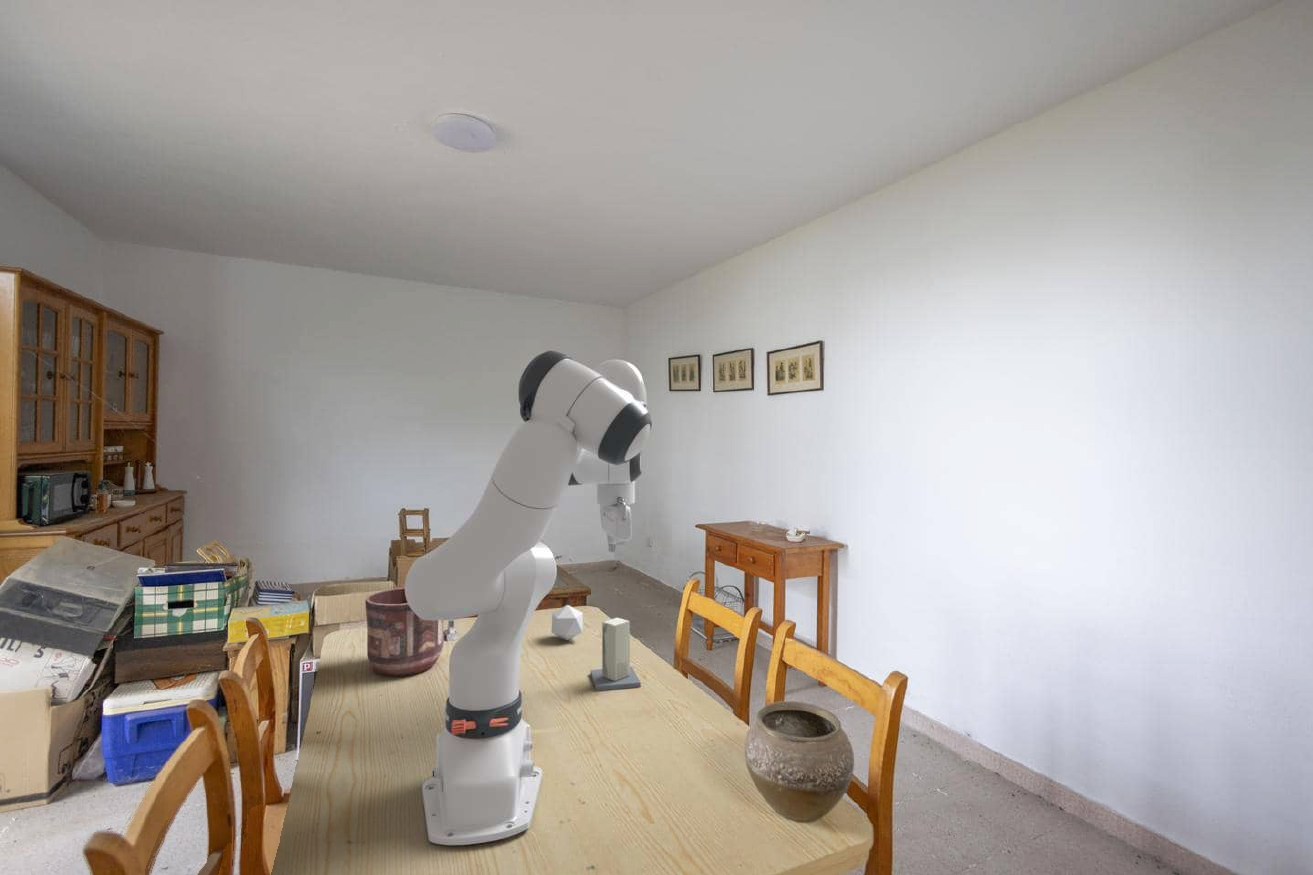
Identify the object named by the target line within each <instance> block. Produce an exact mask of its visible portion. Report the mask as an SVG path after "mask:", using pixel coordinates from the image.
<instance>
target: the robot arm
mask: <svg viewBox="0 0 1313 875" xmlns="http://www.w3.org/2000/svg"><path fill="white" fill-rule="evenodd" d="M642 376H643V375H642V374H641V372H640V371H639V369H638V367H636V366H635V365H634V364H632V363H631V362H628V361H627V360H623V359H617V358H616V359H608V360H606V361H603V362H601V363H600V364H598V365H597V366H596V367H594V369H591V368H590V367H587V366H586V365H584V364H582V363H580V362H577V361H575V360H573V358H572V357H571V356H569V355H567V354H564V353H562V352H558V351H556V350H555V351H554V350H547V351H544V352H542V353H540V354H537V355H536V356H535V357H534V358H533V359H532V360H531V361H530V362H529V363H528V365H527V366H526V367H525V369H524V371H523V373H522V375H521V376H520V378H519V381H518V392H517V393H518V402H519V404H520V407H519V414H520V418H521V419H522V420H523V423H521V425H520V426H519V427H518V428H517V429H516V431H515V432H514V434H513V435H512V436H511V437H510V440H509V441H508V442H507V444H506V446H505V448H504V449H503V451H502V452H501V455H500V457H499V458H498V461H497V462H496V464H495V466H494V469H493V471H492V474H491V476H490V478H489V481H488V482H487V484H486V487H485V489H484V491H483V494H482V495H481V497H480V500H479V502H478V504H477V506H476V508H475V510H474V511H473V513H472V514H471V515H470V516H469V518H467V520H466V521H465V522H464V523H463V524H461V526H460V527H459V529H457V530H456V532H454V533H452V535H451V536H450V537H448V539H447V540H445V541H444V542H442V543H441V544H439V546H438V547H436V548H435V549H433V550H431V551H430V552H428V553H426V554H424V555H422V556H420V557H419V558H417V559H415V560H414V562H413V563H412V565H411V566H410V568H409V570H408V572H407V574H406V577H405V582H404V588H405V596H406V599H407V602H408V604H409V606H410V608H411V609H412V611H413V612H414V613H415V614H416V615H417V616H418V617H419V618H421V619H423V620H444V621H448V620H454V621H456V620H459V619H465V618H470V617H472V616H473V617H474V616H477V617H476V619H475V621H474V623H473V625H471V627H470V629H469V630H468V631H467V632H466V633H465V634H464V635H462V637H460V639H458V640H457V641H456V643H455V644H454V646H453V647H452V650H451V652H450V655H449V666H448V667H449V669H448V671H449V672H448V675H449V676H448V697H447V699H446V701H445V702H446V703H445V708H444V709H445V711H444V717H445V726H444V728H443V729H442V730H441V731H440V732H439V733H437V735H436V756H435V757H436V761H435V763H436V765H435V766H436V768H433V770H432V777H431V778H429V779H426V780H425V781H424V782H422V788H421V795H422V801H423V809H424V815H425V816H424V817H425V822H426V823H425V824H426V832H427V837H428V841H429V842H430V843H433V844H435V845H436V844H437V845H443V846H466V845H473V844H481V843H487V842H493V841H499V840H502V839H505V838H509V837H511V836H514V835H515V836H516V835H517V834H519V833H522V832H524V831H525V830H528V828H529V827H530V825H531V824H532V821H533V820H532V819H533V815H534V811H535V807H536V805H537V804H536V803H537V800H538V796H539V792H540V787H541V784H542V780H543V769H542V768H541V767H539V766H536V765H535V763H534V760H532V759H531V751H533V741H531V725H530V724H529V723H527V722H526V721H524V719H523V718H522V716H523V698H522V697H523V696H522V691H521V690H520V674H521V673H520V672H521V671H520V670H521V657H522V656H521V655H522V654H521V653H522V647H523V646H522V645H523V641H524V638H525V635H526V632H527V629H528V626H529V624H530V620H531V618H532V617H533V615H534V613H535V611H536V609H537V608H538V606H539V605H540V603H541V602H542V601H543V599H544V598H545V597H546V596H547V595H548V594H549V593H550V592H551V590H552V589H553V588H554V585H555V582H556V579H557V570H558V568H557V566H558V565H557V562H556V558H555V556H554V554H553V552H552V551H551V549H550V548H549V547H548V546H547V545H546V544H545V543H543V542H541V540H542V539H543V537H544V536H545V534H546V532H547V530H548V528H549V527H550V525H551V524H550V523H552V520H553V518H554V515H555V514H556V512H557V509H558V507H559V505H560V503H561V501H562V500H563V497H564V495H565V492H566V491H567V488H568V486H582V485H596V503H597V505H598V504H599V511H600V512H599V514H600V524H601V529H602V531H604V532H605V533H606V540H607V551H608V552H609V553H614V557H615V559H616V560H619V561H620V560H621V561H623V560H624V558H625V548H626V545H627V543H626V542H630V541H632V536H633V534H632V530H633V529H632V510H631V508H630V505H633V504H635V503H636V480H637V479H638V478H639V477H640V476H641V475H642V469H641V468H642V464H641V463H642V460H641V458H642V451H643V448H644V447H645V446H646V444H647V441H648V438H649V436H650V432H651V430H652V425H653V424H652V418H651V414H650V412H649V410H648V409H647V408H648V407H647V406H648V397H647V389H646V384H645V383H644V379H643V377H642Z"/></svg>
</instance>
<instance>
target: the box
mask: <svg viewBox="0 0 1313 875" xmlns="http://www.w3.org/2000/svg"><path fill="white" fill-rule="evenodd" d="M601 624H602V626H601V627H602V629H601V630H602V634H601V635H602V640H601V642H602V645H601V646H602V648H601V650H602V651H601V652H602V653H601V654H602V658H601V659H602V664H601V669H602V676H603V677H605V678H608V679H610V680H613V681H617V680H619V679H621V678H624V677H626V676H628V675H630V667H631V662H630V661H631V648H630V647H631V645H630V644H631V640H630V637H631V636H630V634H631V631H630V629H631V626H630V624H631V622H630V620H627V619H623V618H620V617H615V618H611V619H607V620H605V621H603V622H602V623H601Z"/></svg>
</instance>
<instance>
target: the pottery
mask: <svg viewBox="0 0 1313 875" xmlns="http://www.w3.org/2000/svg"><path fill="white" fill-rule="evenodd" d="M365 613H366V629H367V633H366V634H367V637H366V638H367V640H366V641H367V642H366V644H367V647H366V652H367V653H366V654H367V658H368V661H369V663H370V666H371V668H372V669H373V671H374V672H375V673H377V674H379V675H380V676H381V675H382V676H383V677H392V678H395V677H396V678H397V677H399V678H401V677H411V676H414V675H415V676H416V675H419V674H421V673H424V672H426V671H428V670H431V668H432V667H433V666H434V665H435V664H436V663H437V661H438V660H439V658H440V657H441V655H442V652H443V650H444V638H443V631H444V621H445V620H423V619H421V618H419V617H418V616H417V615H416V614H415V613H414V612H413V611H412V609H411V608H410V606H409V604H408V602H407V599H406V596H405V587H399V588H392V589H391V588H390V589H387V590H383V591H378V592H375V593H373V594H371V595H369V596H367V597H366V599H365Z"/></svg>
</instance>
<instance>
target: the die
mask: <svg viewBox="0 0 1313 875" xmlns="http://www.w3.org/2000/svg"><path fill="white" fill-rule="evenodd" d="M551 615H552V617H551V634H553V635H555V636H557V637H559V638H561V639H563V640H565V641H569V640H571V639H573V638H575V637H577V636H579V635H580V634H582V633H583V630H584V629H583V625H584V624H583V622H584V612H582V611H580V610H578V609H576V608H574V607H572V606H570V605H569V604H566V605H565V606H563V607H561V608H559V609H558V610H556V611H554V612H552V614H551Z"/></svg>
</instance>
